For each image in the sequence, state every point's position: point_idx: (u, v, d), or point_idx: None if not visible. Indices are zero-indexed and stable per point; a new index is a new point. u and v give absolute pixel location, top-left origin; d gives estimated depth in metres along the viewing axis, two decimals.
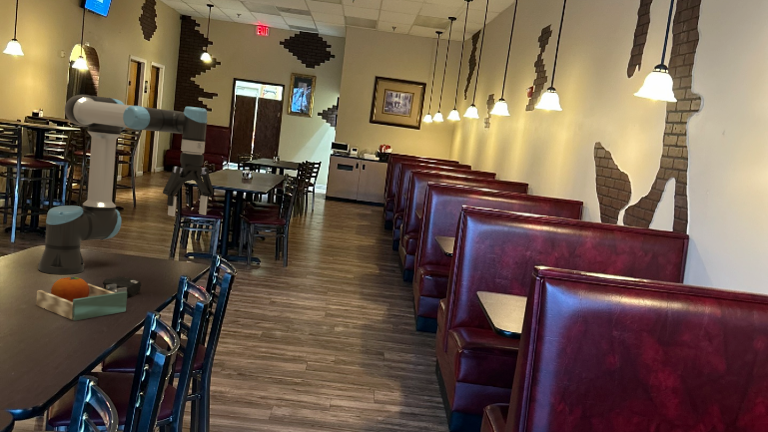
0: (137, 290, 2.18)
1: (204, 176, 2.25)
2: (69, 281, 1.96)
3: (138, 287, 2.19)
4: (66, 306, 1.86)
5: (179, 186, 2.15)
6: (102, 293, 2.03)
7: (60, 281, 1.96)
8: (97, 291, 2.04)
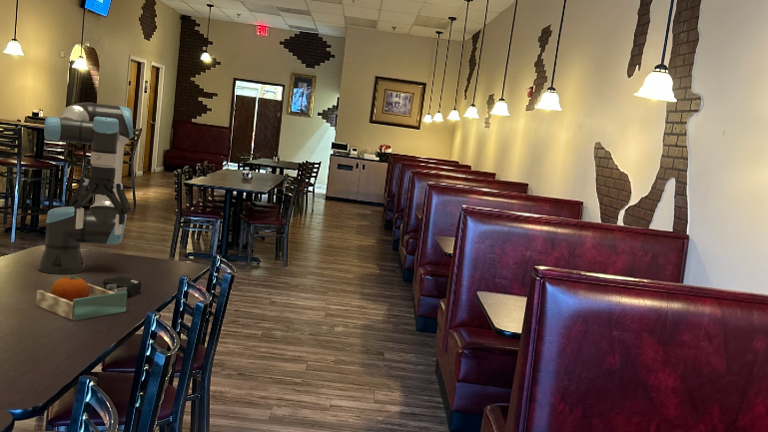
0: (137, 290, 2.19)
1: None
2: (69, 281, 1.96)
3: (139, 287, 2.19)
4: (66, 306, 1.86)
5: (82, 198, 2.07)
6: (102, 293, 2.03)
7: (60, 281, 1.96)
8: (97, 291, 2.04)
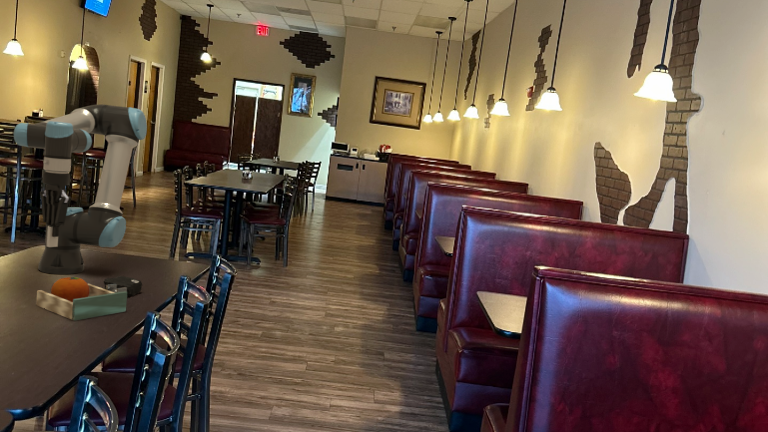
0: (138, 290, 2.19)
1: None
2: (69, 281, 1.96)
3: (139, 287, 2.19)
4: (66, 306, 1.86)
5: (47, 211, 2.02)
6: (102, 293, 2.03)
7: (60, 281, 1.96)
8: (97, 291, 2.04)
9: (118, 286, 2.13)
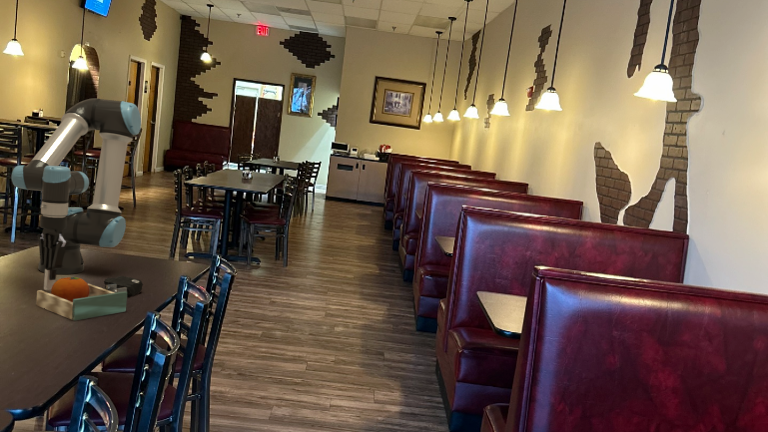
0: (138, 290, 2.19)
1: None
2: (69, 281, 1.96)
3: (140, 287, 2.19)
4: (66, 306, 1.86)
5: (45, 255, 2.03)
6: (102, 293, 2.03)
7: (60, 281, 1.96)
8: (97, 291, 2.04)
9: (118, 286, 2.13)
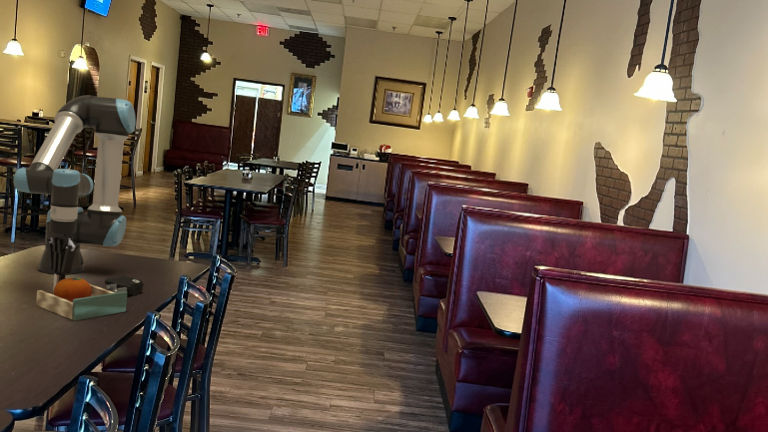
0: (139, 290, 2.19)
1: None
2: (71, 282, 1.95)
3: (140, 287, 2.20)
4: (66, 306, 1.86)
5: (54, 259, 2.00)
6: (102, 293, 2.03)
7: (62, 282, 1.95)
8: (97, 291, 2.04)
9: (118, 286, 2.13)
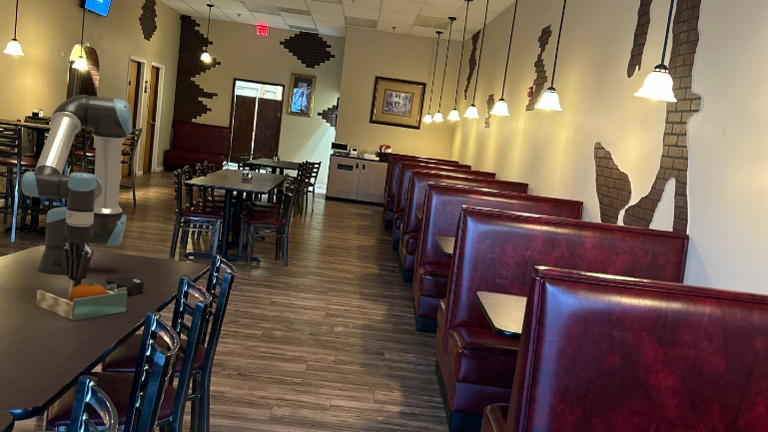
0: (140, 289, 2.20)
1: None
2: (87, 287, 1.91)
3: (141, 286, 2.20)
4: (66, 306, 1.86)
5: (70, 265, 1.96)
6: None
7: (78, 287, 1.91)
8: None
9: (119, 285, 2.14)
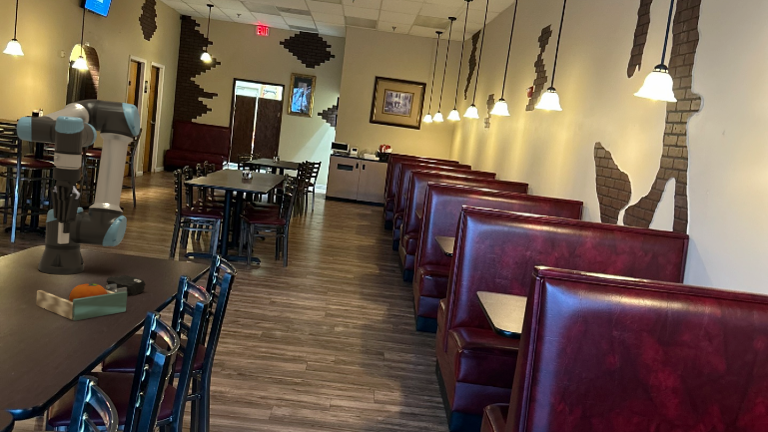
0: (140, 289, 2.20)
1: None
2: (87, 288, 1.91)
3: (142, 286, 2.20)
4: (66, 306, 1.86)
5: (58, 208, 1.99)
6: None
7: (78, 288, 1.91)
8: None
9: (119, 285, 2.14)
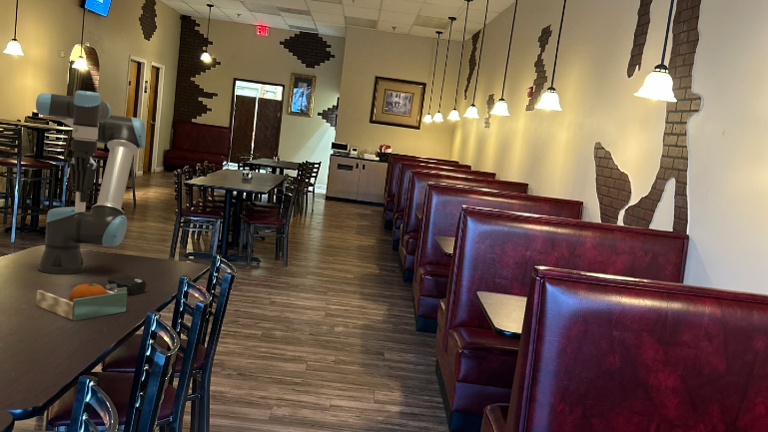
0: (141, 289, 2.20)
1: None
2: (87, 288, 1.91)
3: (143, 286, 2.21)
4: (66, 306, 1.86)
5: (76, 178, 2.10)
6: None
7: (78, 288, 1.91)
8: None
9: (120, 284, 2.15)
